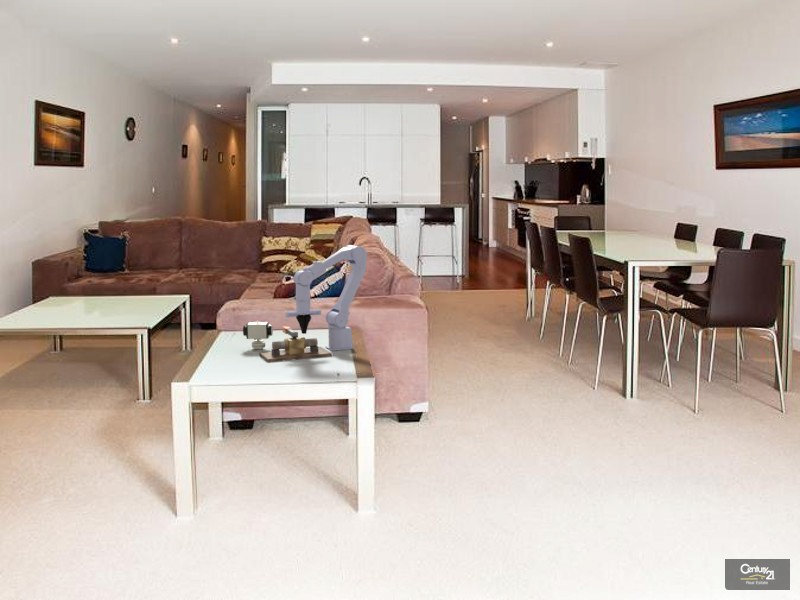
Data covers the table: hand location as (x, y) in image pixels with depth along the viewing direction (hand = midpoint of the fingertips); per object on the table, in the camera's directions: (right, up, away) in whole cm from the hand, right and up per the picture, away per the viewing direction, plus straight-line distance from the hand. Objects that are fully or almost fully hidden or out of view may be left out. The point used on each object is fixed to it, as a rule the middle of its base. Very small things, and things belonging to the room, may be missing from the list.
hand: (303, 333), depth 327 cm
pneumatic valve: (-20, -7, +9) cm, 23 cm away
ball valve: (-3, -9, -5) cm, 11 cm away
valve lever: (-5, -1, 0) cm, 6 cm away
